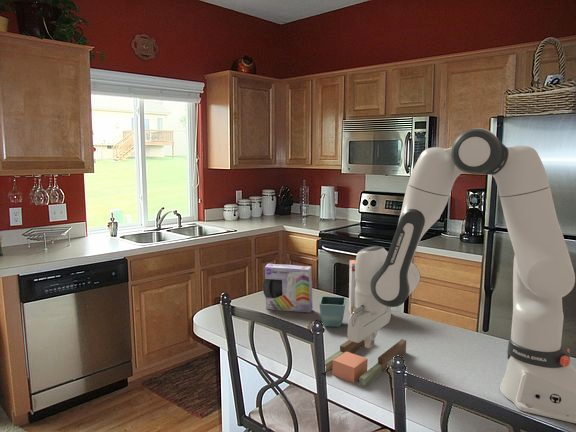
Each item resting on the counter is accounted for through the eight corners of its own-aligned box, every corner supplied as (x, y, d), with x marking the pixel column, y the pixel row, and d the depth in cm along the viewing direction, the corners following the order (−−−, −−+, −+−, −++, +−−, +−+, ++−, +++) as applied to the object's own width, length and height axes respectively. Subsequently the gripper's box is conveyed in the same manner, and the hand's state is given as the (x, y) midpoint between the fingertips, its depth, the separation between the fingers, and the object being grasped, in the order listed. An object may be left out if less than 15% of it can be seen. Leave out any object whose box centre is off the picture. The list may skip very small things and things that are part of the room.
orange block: (367, 373, 126) (367, 358, 125) (353, 383, 120) (354, 367, 120) (345, 366, 130) (346, 351, 129) (332, 375, 125) (332, 360, 124)
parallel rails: (405, 352, 138) (406, 340, 138) (364, 387, 118) (364, 373, 117) (365, 340, 147) (365, 329, 146) (320, 371, 126) (320, 358, 126)
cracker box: (383, 311, 174) (385, 258, 171) (387, 317, 168) (389, 262, 165) (347, 311, 173) (349, 258, 170) (350, 317, 167) (352, 262, 164)
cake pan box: (262, 309, 176) (262, 265, 173) (266, 304, 181) (266, 262, 178) (309, 314, 170) (310, 269, 168) (312, 309, 175) (313, 266, 172)
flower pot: (318, 328, 157) (319, 303, 156) (321, 319, 165) (321, 295, 164) (344, 330, 155) (344, 305, 154) (345, 320, 164) (345, 297, 163)
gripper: (362, 313, 120) (361, 362, 122) (395, 294, 136) (394, 337, 138) (341, 308, 124) (341, 356, 126) (376, 290, 140) (375, 332, 142)
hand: (369, 346), depth 132 cm, fingers closed
